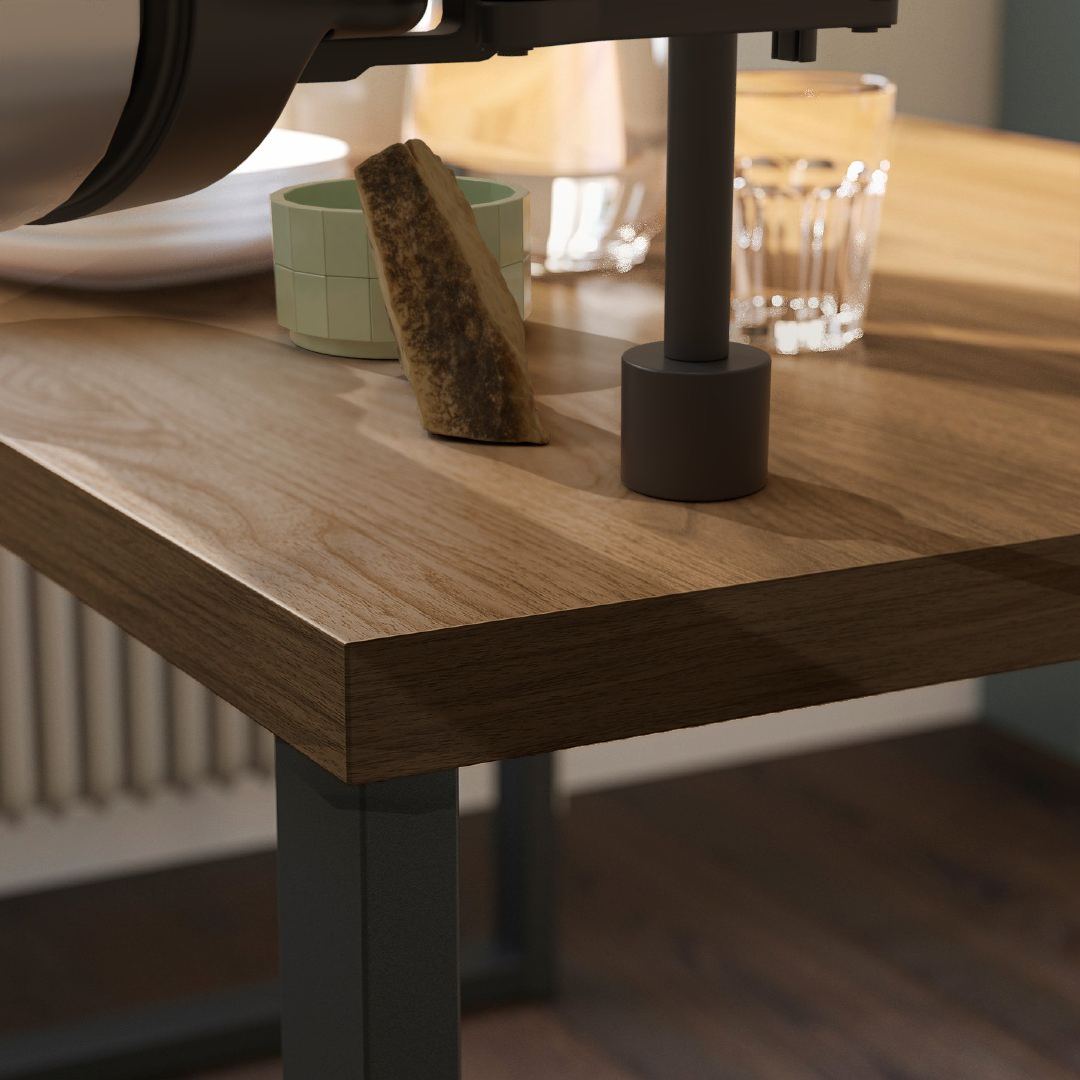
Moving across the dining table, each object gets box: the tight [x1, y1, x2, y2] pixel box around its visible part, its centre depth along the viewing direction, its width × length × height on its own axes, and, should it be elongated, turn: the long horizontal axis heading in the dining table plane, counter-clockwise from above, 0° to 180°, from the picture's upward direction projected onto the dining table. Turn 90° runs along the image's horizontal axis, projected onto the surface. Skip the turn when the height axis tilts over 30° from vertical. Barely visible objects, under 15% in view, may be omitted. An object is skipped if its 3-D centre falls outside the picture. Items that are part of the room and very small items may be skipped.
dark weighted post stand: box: [620, 33, 773, 502], centre depth 51 cm, size 5×5×24 cm
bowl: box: [268, 175, 532, 360], centre depth 74 cm, size 11×11×6 cm
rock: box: [353, 138, 551, 445], centre depth 63 cm, size 11×9×10 cm
